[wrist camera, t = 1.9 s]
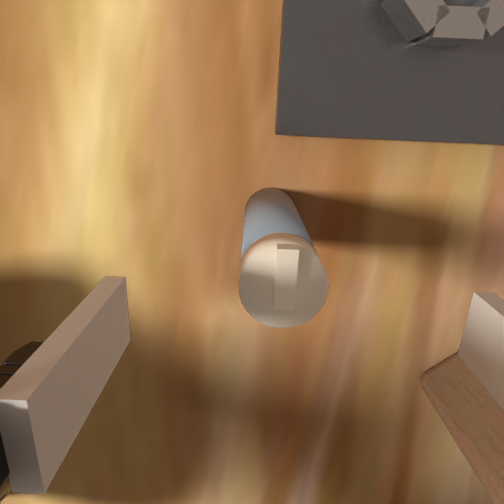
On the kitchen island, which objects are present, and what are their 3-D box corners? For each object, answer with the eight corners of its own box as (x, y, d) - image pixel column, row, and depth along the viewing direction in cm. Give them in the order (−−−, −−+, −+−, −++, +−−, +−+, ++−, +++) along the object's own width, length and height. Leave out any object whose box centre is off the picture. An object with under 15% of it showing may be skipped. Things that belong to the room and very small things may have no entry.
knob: (293, 238, 31) (326, 337, 17) (243, 236, 31) (236, 334, 17) (297, 187, 30) (336, 251, 16) (245, 185, 30) (239, 247, 16)
